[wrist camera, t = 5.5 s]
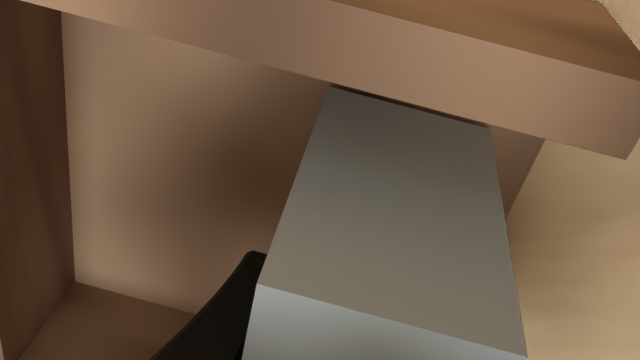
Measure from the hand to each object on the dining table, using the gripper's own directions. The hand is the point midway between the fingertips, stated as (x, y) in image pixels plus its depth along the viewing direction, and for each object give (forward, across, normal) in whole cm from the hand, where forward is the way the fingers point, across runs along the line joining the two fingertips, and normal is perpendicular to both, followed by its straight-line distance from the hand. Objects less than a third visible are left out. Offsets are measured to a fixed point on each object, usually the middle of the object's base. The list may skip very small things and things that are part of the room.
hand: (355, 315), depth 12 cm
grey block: (+3, 0, 0) cm, 3 cm away
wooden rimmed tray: (+4, +3, 0) cm, 5 cm away
